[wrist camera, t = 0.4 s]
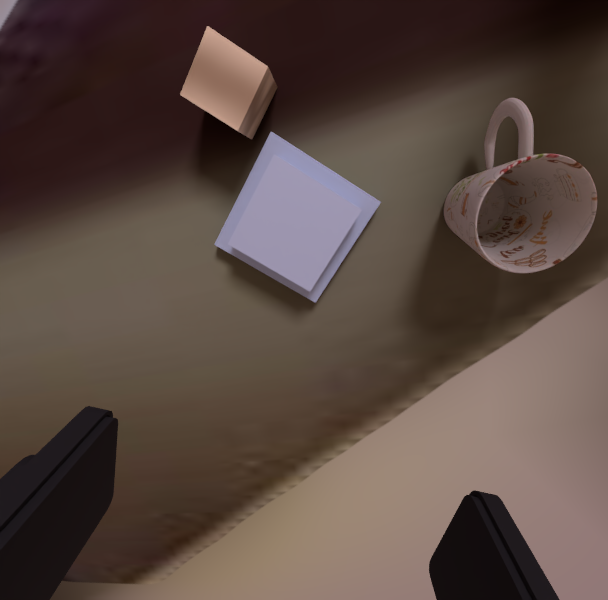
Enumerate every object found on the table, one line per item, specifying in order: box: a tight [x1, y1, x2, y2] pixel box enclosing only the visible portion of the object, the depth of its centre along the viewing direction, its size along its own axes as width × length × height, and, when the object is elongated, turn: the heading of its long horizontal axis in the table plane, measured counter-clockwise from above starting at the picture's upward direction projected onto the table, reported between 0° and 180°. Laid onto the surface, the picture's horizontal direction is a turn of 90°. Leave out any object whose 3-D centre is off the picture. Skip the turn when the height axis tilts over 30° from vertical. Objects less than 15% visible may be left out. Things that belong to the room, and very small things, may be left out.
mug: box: [444, 98, 597, 273], centre depth 28 cm, size 8×13×10 cm, turn 10°
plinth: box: [214, 132, 381, 303], centre depth 33 cm, size 12×12×4 cm
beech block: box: [180, 26, 277, 140], centre depth 28 cm, size 5×5×6 cm
